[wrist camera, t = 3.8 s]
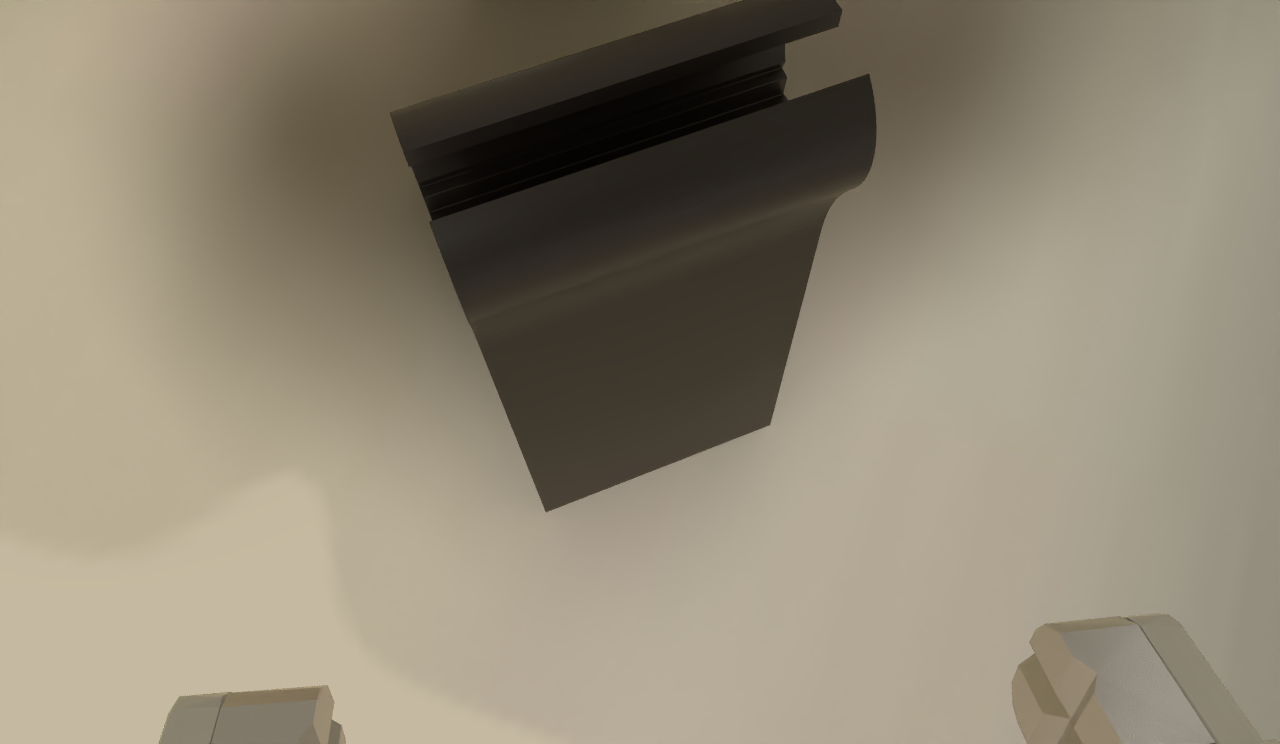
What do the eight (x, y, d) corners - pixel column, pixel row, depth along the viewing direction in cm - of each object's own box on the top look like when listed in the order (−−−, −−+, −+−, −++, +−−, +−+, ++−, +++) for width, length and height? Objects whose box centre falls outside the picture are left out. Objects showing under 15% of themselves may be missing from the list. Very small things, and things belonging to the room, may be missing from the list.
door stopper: (421, 177, 23) (293, -144, 12) (641, 106, 24) (733, -260, 12) (543, 512, 23) (540, 538, 11) (766, 427, 23) (990, 364, 12)
